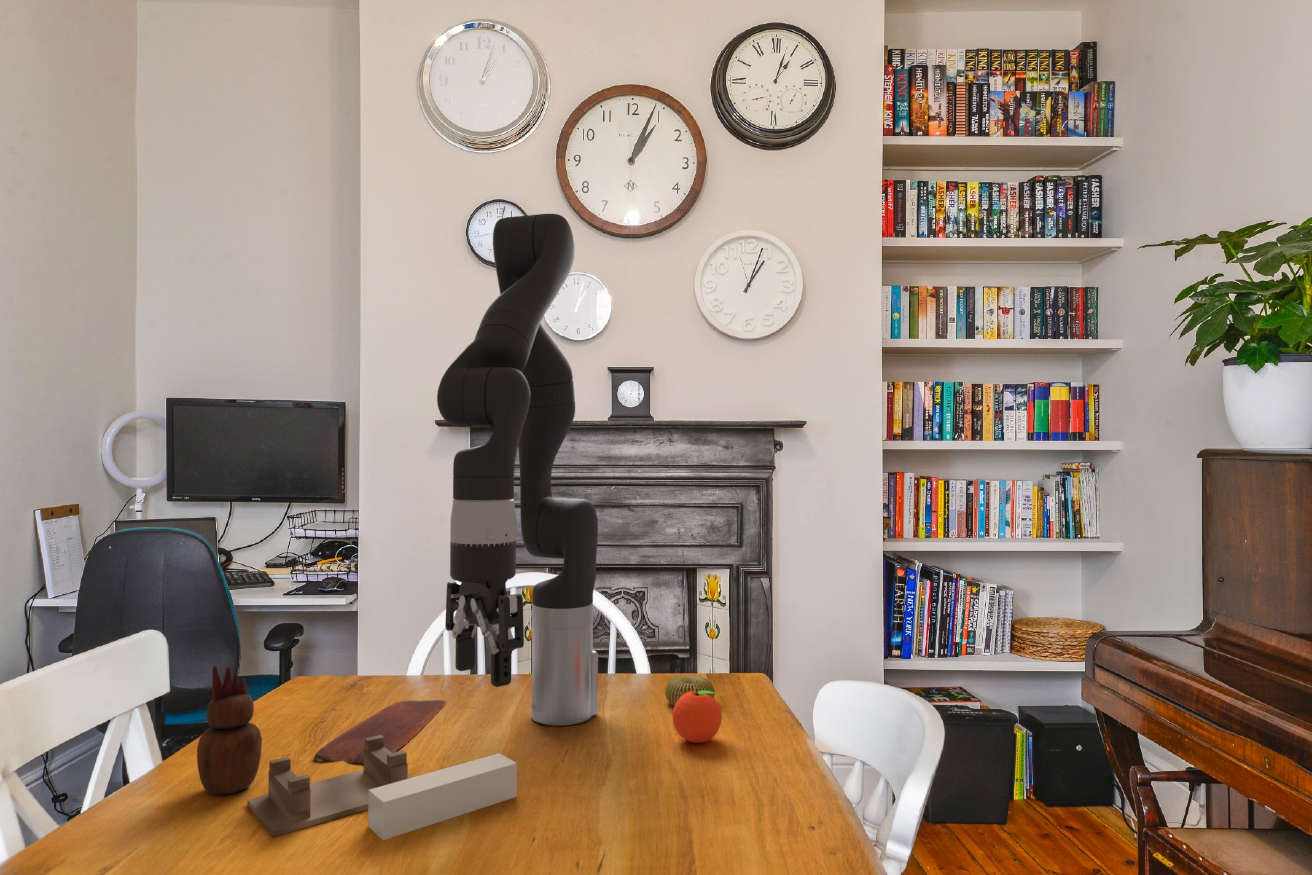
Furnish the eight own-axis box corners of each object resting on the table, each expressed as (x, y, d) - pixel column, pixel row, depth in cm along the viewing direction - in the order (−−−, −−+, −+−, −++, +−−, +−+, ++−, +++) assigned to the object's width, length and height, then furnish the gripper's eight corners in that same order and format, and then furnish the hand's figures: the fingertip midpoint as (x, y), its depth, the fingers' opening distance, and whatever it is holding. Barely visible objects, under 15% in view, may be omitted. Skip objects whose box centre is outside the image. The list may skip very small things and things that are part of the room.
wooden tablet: (381, 770, 102) (382, 757, 102) (308, 766, 103) (308, 753, 103) (455, 704, 128) (456, 694, 129) (396, 702, 130) (396, 692, 130)
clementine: (714, 728, 116) (714, 680, 116) (737, 745, 110) (737, 693, 110) (664, 736, 113) (664, 686, 113) (685, 753, 107) (685, 700, 107)
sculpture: (720, 675, 130) (706, 688, 123) (720, 699, 130) (706, 714, 123) (674, 670, 133) (658, 683, 125) (674, 694, 133) (657, 709, 125)
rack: (392, 766, 102) (392, 728, 102) (426, 791, 94) (426, 751, 94) (247, 804, 91) (247, 762, 91) (272, 836, 83) (273, 790, 83)
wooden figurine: (195, 804, 91) (197, 672, 91) (197, 785, 96) (199, 660, 96) (261, 792, 94) (263, 665, 94) (260, 775, 99) (262, 654, 99)
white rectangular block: (499, 787, 96) (499, 752, 96) (516, 798, 93) (516, 762, 93) (368, 828, 86) (368, 789, 86) (382, 842, 83) (383, 802, 83)
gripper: (544, 540, 90) (543, 684, 90) (482, 531, 101) (481, 659, 100) (484, 545, 85) (483, 698, 85) (426, 535, 96) (425, 670, 95)
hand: (482, 677), depth 93 cm, fingers open, 8 cm apart
